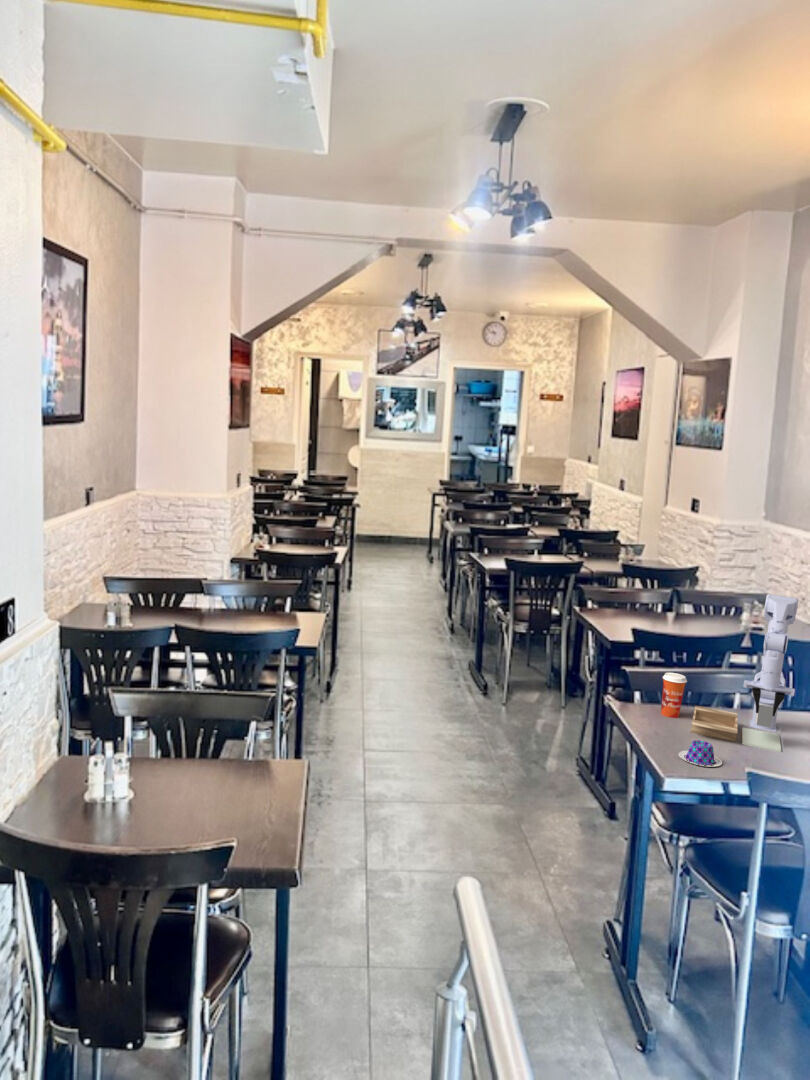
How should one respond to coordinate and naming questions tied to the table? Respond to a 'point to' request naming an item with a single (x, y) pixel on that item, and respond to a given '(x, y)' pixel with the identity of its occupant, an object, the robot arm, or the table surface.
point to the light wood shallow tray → (715, 723)
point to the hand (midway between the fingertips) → (764, 713)
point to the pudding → (700, 754)
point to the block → (764, 715)
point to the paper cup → (672, 694)
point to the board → (761, 739)
